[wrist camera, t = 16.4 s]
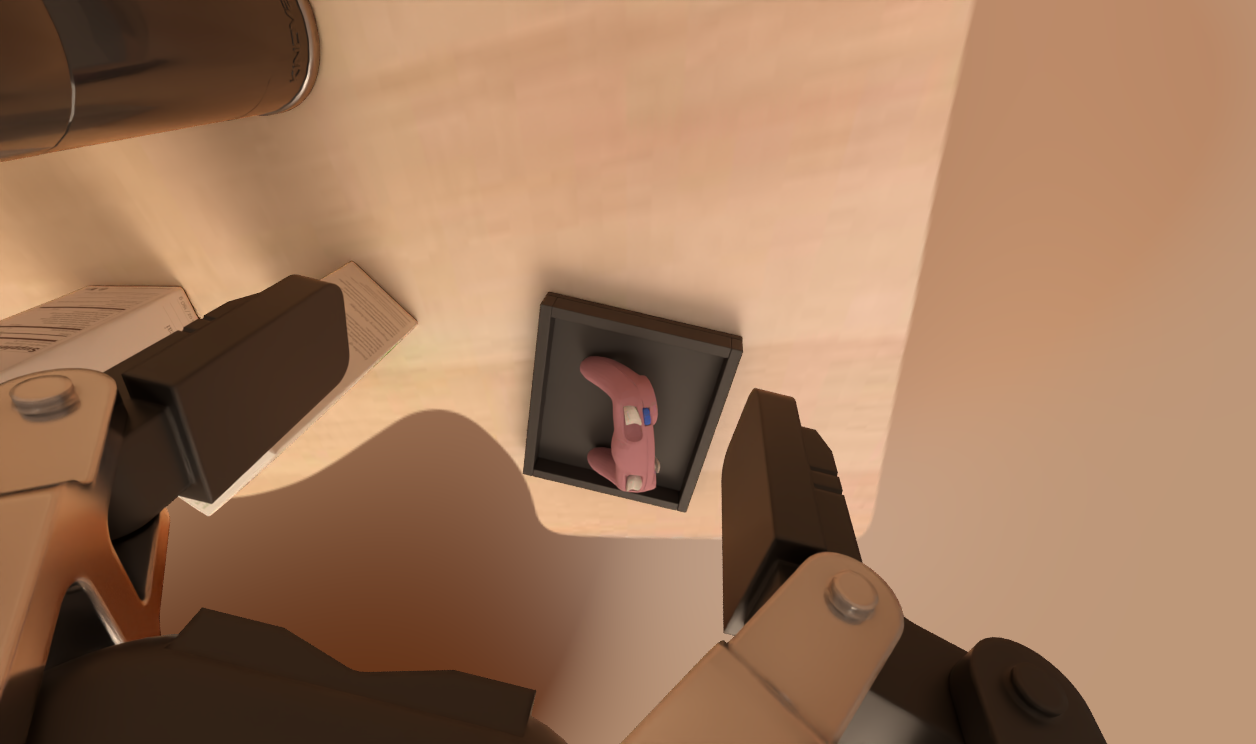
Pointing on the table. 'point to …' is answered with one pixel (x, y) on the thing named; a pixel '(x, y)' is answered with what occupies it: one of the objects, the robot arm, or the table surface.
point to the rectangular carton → (91, 328)
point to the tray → (583, 413)
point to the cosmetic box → (370, 338)
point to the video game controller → (625, 426)
